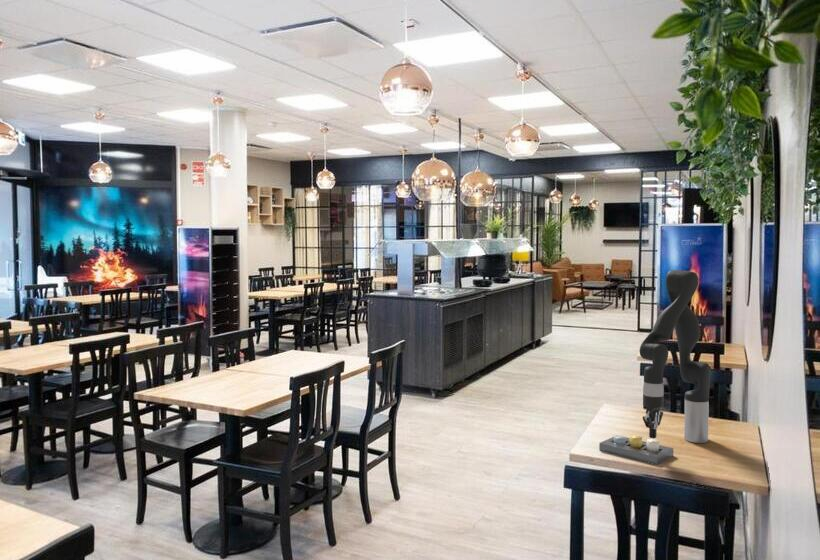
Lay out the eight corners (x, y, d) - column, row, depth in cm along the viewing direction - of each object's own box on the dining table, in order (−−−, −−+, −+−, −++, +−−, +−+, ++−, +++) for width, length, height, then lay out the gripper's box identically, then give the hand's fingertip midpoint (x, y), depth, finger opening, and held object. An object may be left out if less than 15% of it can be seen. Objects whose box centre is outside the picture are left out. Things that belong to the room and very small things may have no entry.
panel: (616, 442, 267) (616, 435, 266) (673, 455, 249) (673, 448, 249) (599, 450, 257) (599, 442, 257) (656, 464, 240) (656, 457, 239)
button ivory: (649, 448, 251) (649, 438, 251) (661, 451, 248) (661, 440, 248) (644, 451, 248) (644, 440, 248) (655, 454, 245) (655, 443, 244)
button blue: (617, 444, 261) (617, 434, 261) (627, 447, 258) (627, 437, 258) (611, 447, 258) (611, 437, 258) (621, 450, 255) (622, 439, 255)
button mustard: (633, 444, 256) (633, 434, 256) (644, 447, 253) (644, 436, 253) (627, 447, 253) (627, 437, 253) (638, 450, 250) (638, 439, 250)
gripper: (654, 398, 239) (654, 443, 240) (670, 392, 248) (669, 436, 249) (635, 395, 245) (635, 439, 246) (651, 389, 254) (651, 432, 255)
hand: (652, 437), depth 247 cm, fingers closed
